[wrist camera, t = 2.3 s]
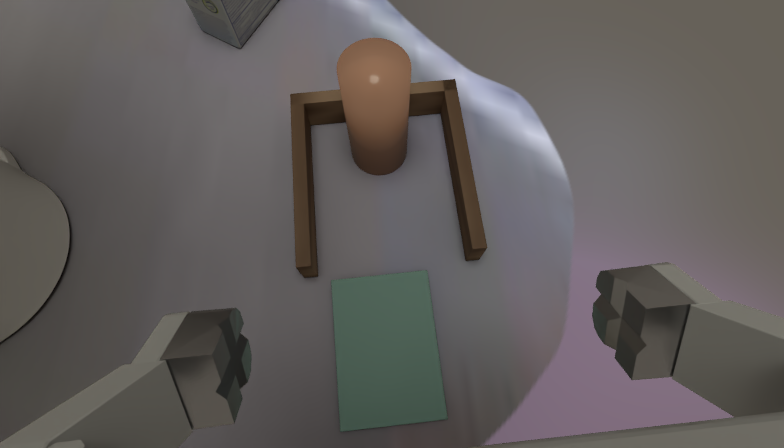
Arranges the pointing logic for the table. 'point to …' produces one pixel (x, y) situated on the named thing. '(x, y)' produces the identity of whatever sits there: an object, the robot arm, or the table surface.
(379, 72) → the terracotta canister
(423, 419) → the pad
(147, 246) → the table surface
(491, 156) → the table surface
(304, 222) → the frame
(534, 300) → the table surface
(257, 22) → the medicine box
